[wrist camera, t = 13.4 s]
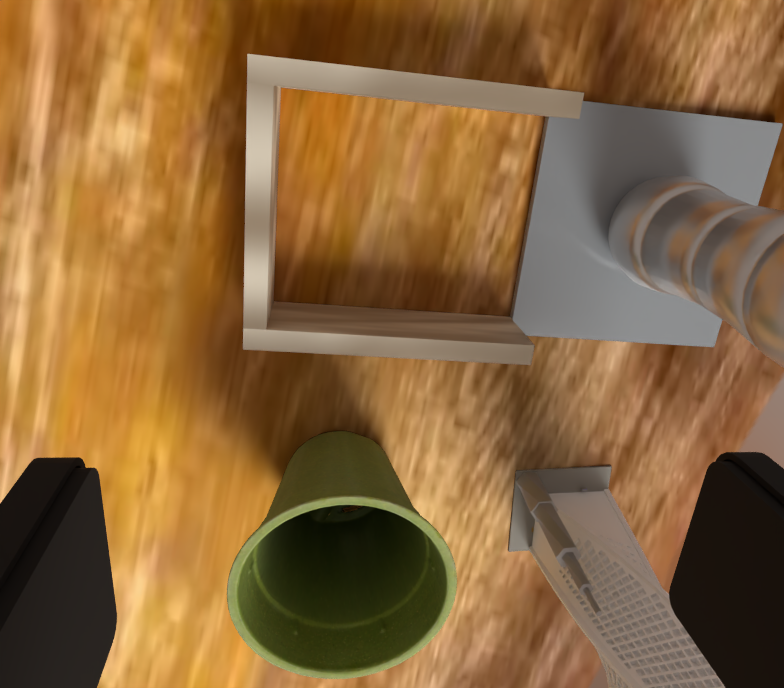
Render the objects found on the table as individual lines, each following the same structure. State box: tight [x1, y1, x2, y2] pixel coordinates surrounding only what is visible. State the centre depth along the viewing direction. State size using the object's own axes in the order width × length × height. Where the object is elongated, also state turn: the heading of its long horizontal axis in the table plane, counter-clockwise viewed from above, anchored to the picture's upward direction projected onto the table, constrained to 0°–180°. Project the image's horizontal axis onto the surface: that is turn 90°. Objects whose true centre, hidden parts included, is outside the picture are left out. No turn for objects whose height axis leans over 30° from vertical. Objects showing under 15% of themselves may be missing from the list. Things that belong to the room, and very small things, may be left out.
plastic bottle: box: [608, 176, 784, 367], centre depth 28 cm, size 6×7×20 cm
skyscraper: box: [508, 466, 725, 688], centre depth 33 cm, size 8×8×28 cm
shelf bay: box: [243, 54, 584, 365], centre depth 34 cm, size 14×16×5 cm
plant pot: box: [227, 431, 457, 679], centre depth 37 cm, size 12×12×11 cm
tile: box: [510, 101, 782, 347], centre depth 38 cm, size 14×14×1 cm
